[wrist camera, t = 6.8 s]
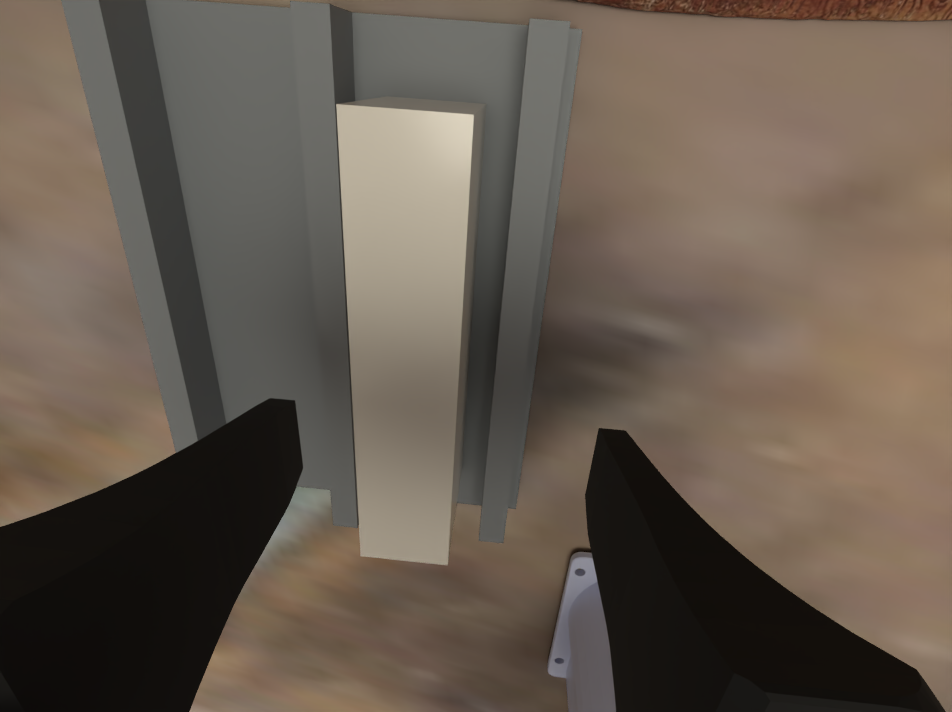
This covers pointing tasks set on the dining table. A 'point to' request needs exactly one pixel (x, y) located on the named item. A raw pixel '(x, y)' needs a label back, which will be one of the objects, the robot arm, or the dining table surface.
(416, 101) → the clay bar
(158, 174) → the grooved grey tray
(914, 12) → the wooden tablet
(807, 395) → the dining table surface
